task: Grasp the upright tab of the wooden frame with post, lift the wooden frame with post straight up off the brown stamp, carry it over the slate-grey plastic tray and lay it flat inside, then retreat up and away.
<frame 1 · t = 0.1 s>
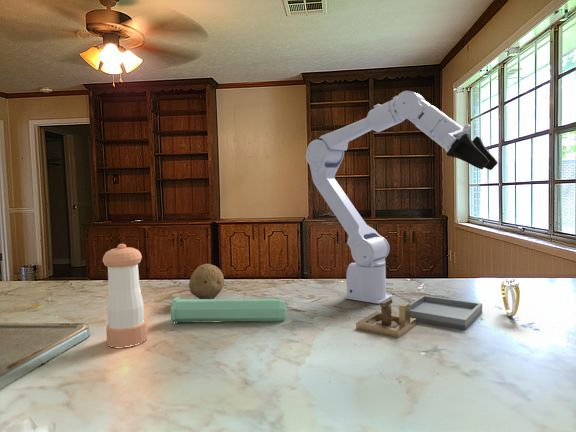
hand: (490, 166, 85), 32 cm above the countertop, tool tilted 50°, fingers open, 7 cm apart
container: (230, 322, 90), on the countertop
wooden frame with post: (386, 326, 83), on the countertop
brown stamp: (386, 326, 83), on the countertop
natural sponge: (207, 302, 106), on the countertop
tray: (442, 315, 89), on the countertop
salt shaker: (127, 342, 80), on the countertop
ring 2: (509, 317, 87), on the countertop
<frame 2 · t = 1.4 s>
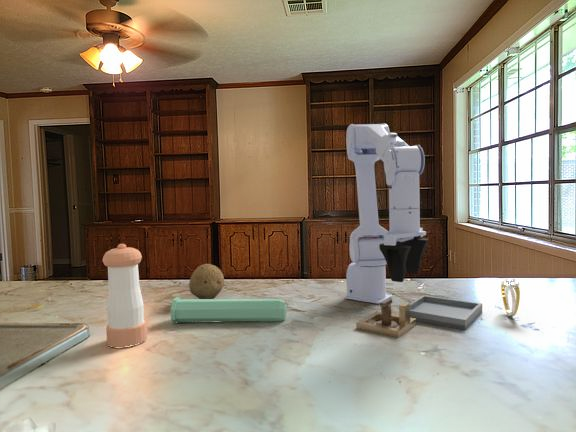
hand: (405, 277, 80), 11 cm above the countertop, tool pointing down, fingers open, 7 cm apart
nothing on the countertop moved.
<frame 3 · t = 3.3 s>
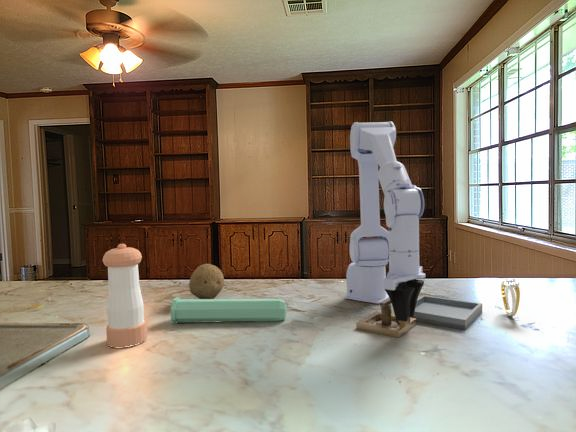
hand: (404, 318, 81), 2 cm above the countertop, tool pointing down, fingers closed on wooden frame with post, 2 cm apart
wooden frame with post: (386, 326, 83), on the countertop, touching gripper
everything else where it was.
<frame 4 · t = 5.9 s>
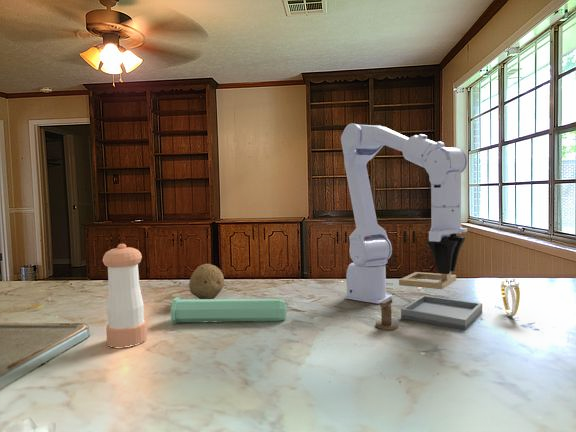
hand: (446, 272, 85), 10 cm above the countertop, tool pointing down, fingers closed on wooden frame with post, 2 cm apart
wooden frame with post: (427, 282, 87), point 8 cm above the countertop, touching gripper
everything else where it was.
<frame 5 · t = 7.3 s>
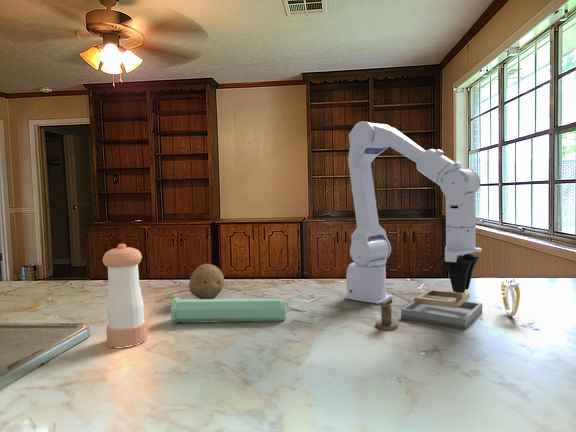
hand: (460, 290, 86), 6 cm above the countertop, tool pointing down, fingers closed on wooden frame with post, 2 cm apart
wooden frame with post: (442, 300, 89), point 3 cm above the countertop, touching gripper
everything else where it was.
when the fingers open (4 cm above the countertop, at t = 8.4 s): wooden frame with post stays where it is, resting on tray.
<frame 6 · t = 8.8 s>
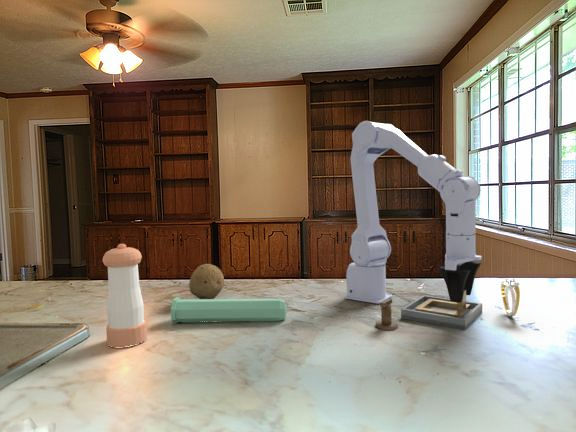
hand: (460, 298, 87), 4 cm above the countertop, tool pointing down, fingers open, 6 cm apart
wooden frame with post: (442, 311, 89), point 1 cm above the countertop, touching tray
everything else where it was.
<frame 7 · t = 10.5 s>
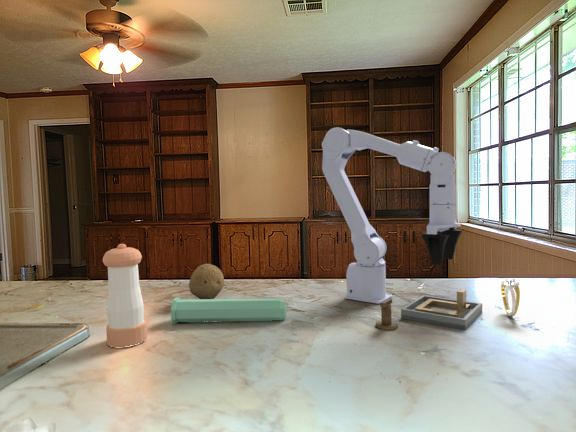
hand: (442, 261, 96), 10 cm above the countertop, tool pointing down, fingers open, 7 cm apart
nothing on the countertop moved.
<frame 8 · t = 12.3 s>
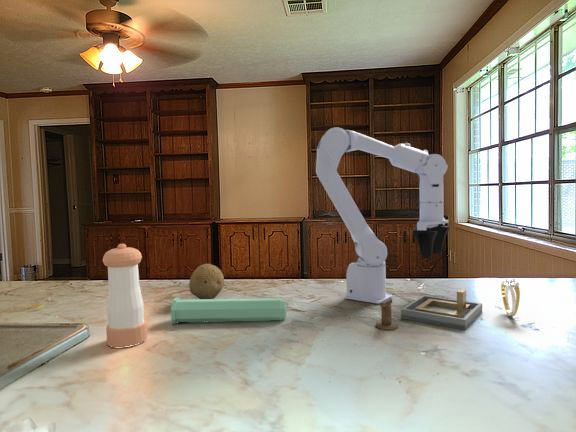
hand: (431, 255, 104), 10 cm above the countertop, tool pointing down, fingers open, 7 cm apart
nothing on the countertop moved.
at the end: wooden frame with post 0.1 cm off-centre on the tray, point 0.8 cm above the tray's base; wooden frame with post tilted 0°; the gripper is holding nothing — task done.
